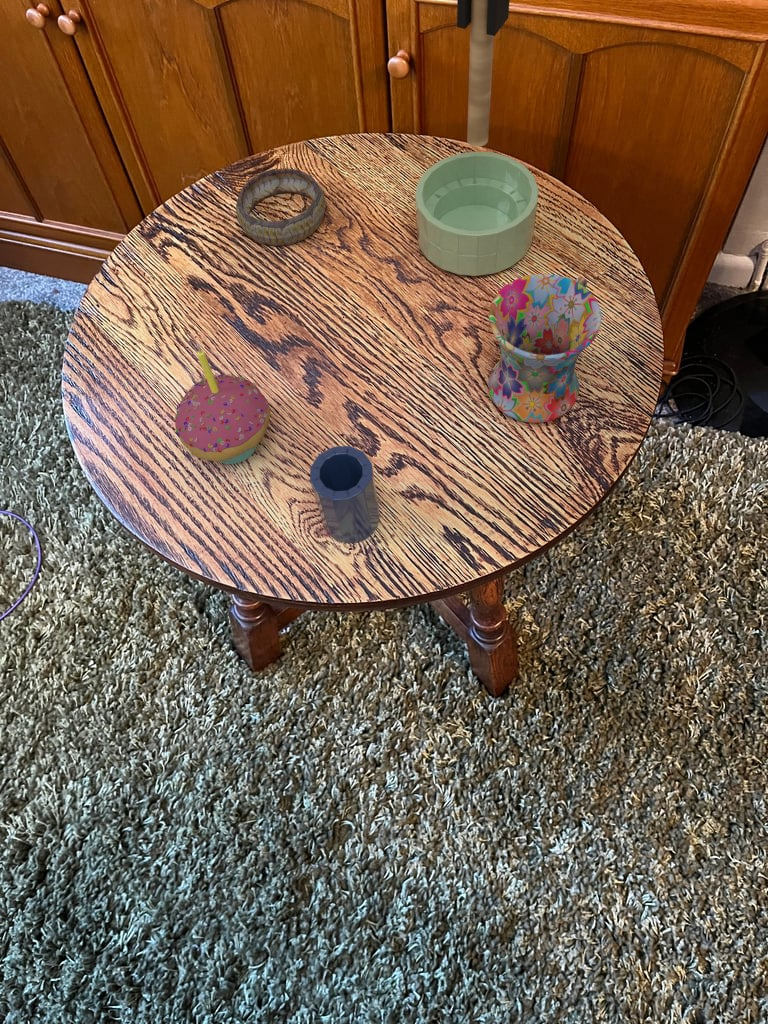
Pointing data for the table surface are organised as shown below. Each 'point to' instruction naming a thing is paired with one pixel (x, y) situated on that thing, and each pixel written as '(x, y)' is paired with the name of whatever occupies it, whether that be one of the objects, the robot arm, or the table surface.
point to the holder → (345, 493)
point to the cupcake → (222, 417)
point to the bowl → (476, 212)
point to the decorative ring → (273, 185)
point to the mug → (540, 344)
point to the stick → (479, 75)
